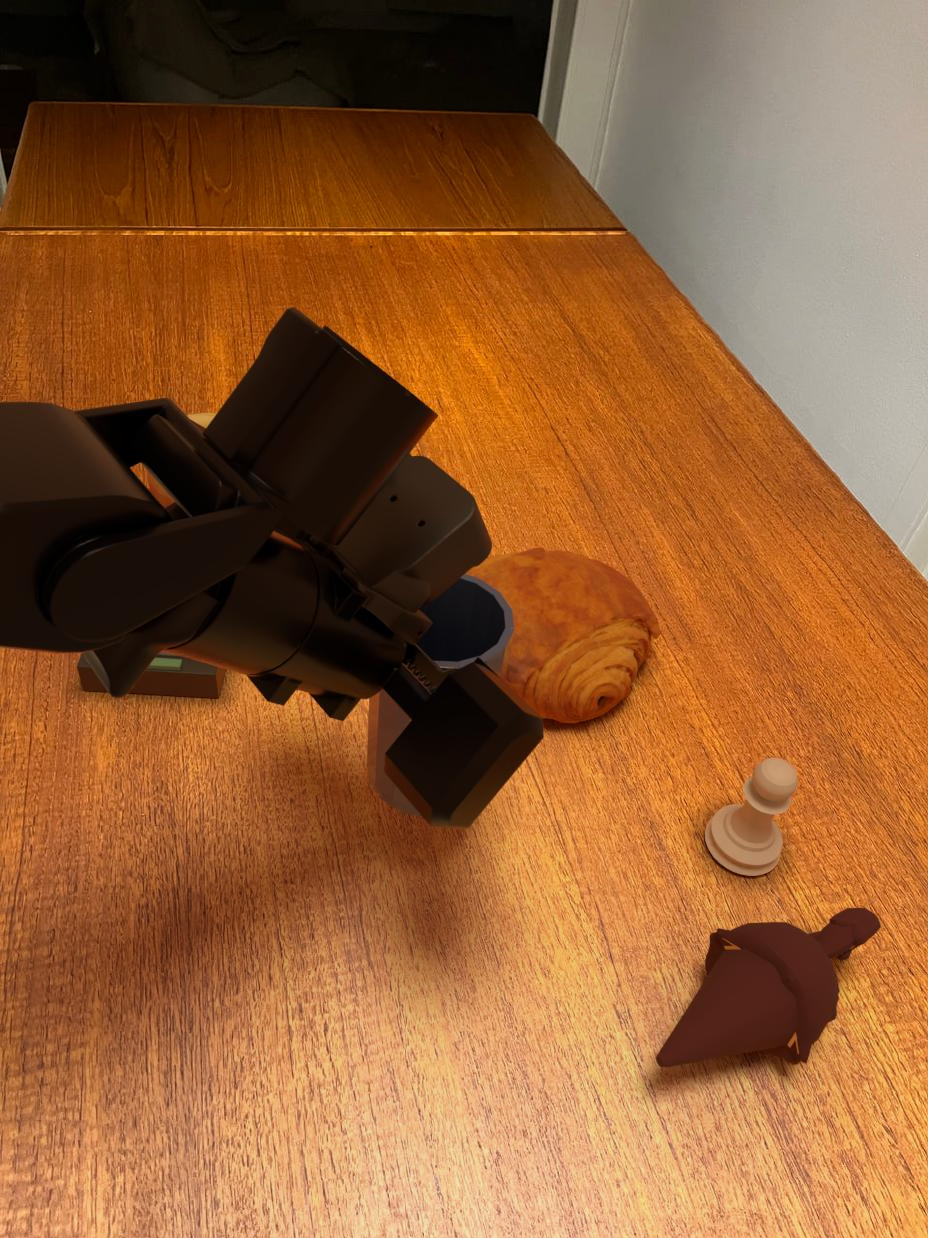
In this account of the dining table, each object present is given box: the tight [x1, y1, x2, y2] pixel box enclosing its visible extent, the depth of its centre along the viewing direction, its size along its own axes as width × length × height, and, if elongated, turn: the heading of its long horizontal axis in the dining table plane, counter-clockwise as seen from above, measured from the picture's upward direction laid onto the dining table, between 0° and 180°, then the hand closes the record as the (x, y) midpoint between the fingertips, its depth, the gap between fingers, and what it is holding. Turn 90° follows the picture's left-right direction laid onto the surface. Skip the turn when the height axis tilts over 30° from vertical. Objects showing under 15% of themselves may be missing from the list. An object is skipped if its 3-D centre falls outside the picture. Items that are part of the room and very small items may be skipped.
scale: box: [76, 651, 227, 699], centre depth 67 cm, size 9×9×3 cm
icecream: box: [655, 907, 882, 1069], centre depth 50 cm, size 7×7×15 cm
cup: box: [366, 574, 514, 818], centre depth 52 cm, size 7×7×12 cm
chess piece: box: [704, 757, 799, 877], centre depth 58 cm, size 5×5×8 cm
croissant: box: [465, 547, 661, 724], centre depth 69 cm, size 14×16×8 cm
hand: (456, 679), depth 52 cm, fingers closed on cup, 7 cm apart
